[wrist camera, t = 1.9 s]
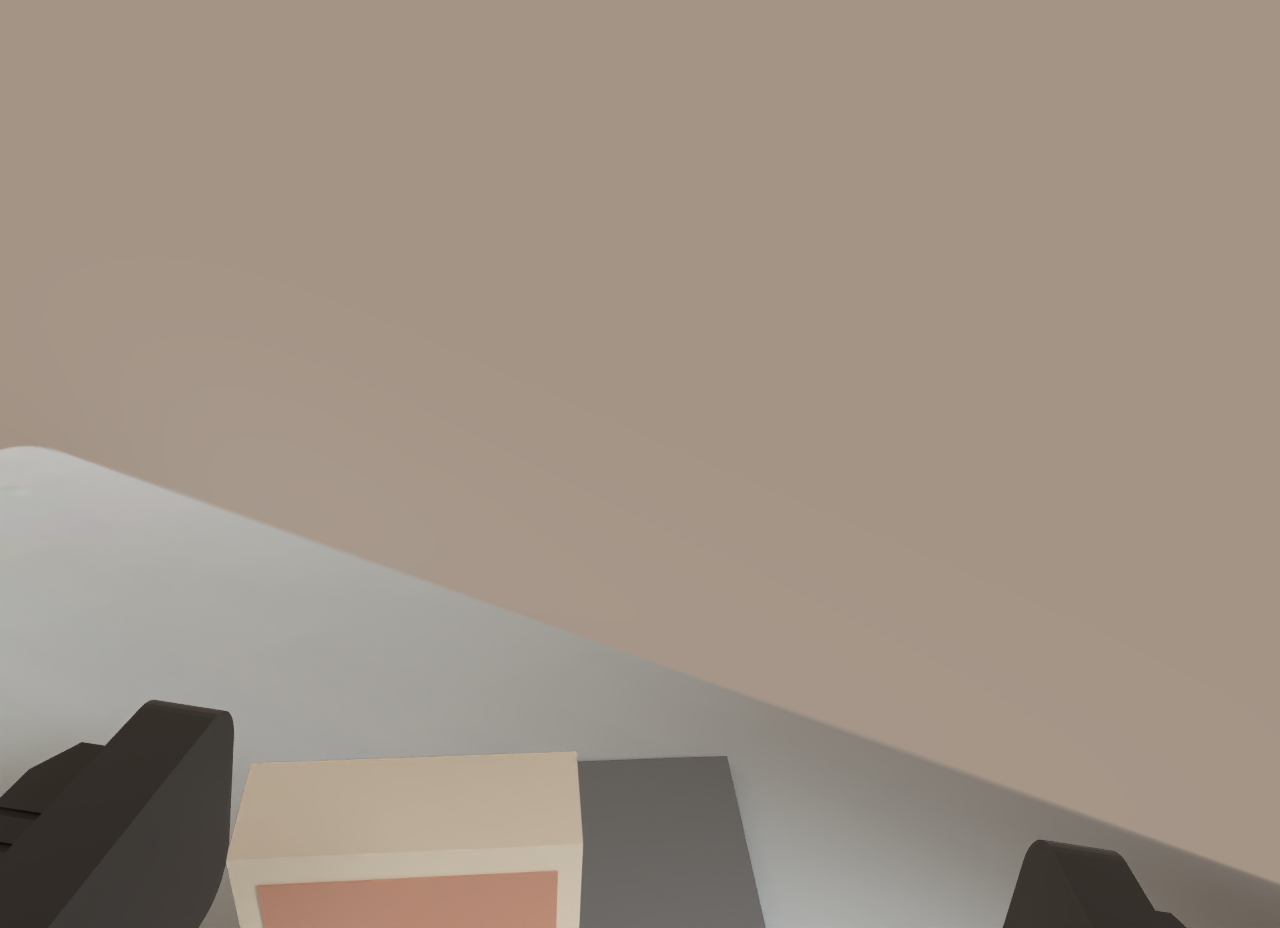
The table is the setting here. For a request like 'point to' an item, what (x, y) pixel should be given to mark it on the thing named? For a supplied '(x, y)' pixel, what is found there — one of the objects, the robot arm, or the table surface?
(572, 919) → the cream box
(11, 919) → the robot arm
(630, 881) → the charcoal mat
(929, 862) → the table surface
